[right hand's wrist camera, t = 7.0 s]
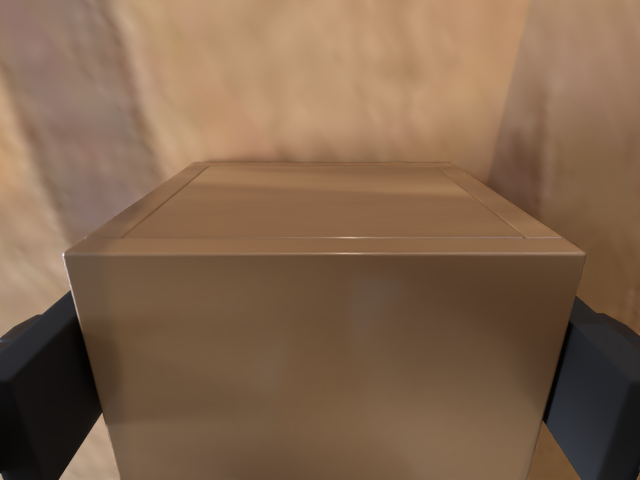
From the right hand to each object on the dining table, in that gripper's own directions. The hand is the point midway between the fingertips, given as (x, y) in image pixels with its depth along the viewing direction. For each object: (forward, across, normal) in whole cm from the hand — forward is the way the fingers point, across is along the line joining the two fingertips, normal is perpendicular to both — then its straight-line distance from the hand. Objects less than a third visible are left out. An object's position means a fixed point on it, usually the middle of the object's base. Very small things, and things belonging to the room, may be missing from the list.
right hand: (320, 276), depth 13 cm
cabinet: (+4, 0, -6) cm, 7 cm away
